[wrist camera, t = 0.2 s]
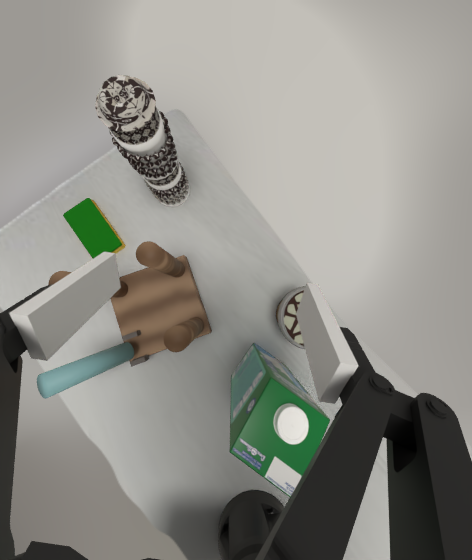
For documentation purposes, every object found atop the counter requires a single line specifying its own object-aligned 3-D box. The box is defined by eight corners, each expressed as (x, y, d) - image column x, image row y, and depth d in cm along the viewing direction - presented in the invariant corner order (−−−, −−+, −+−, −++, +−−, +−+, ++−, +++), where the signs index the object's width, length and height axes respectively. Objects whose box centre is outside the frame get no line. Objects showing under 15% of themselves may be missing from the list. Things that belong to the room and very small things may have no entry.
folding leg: (136, 357, 44) (51, 397, 31) (125, 360, 45) (41, 399, 33) (130, 340, 44) (44, 372, 31) (120, 344, 45) (34, 376, 33)
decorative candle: (159, 167, 54) (96, 52, 29) (196, 178, 53) (164, 71, 29) (148, 202, 53) (72, 114, 28) (184, 212, 53) (141, 133, 28)
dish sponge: (101, 264, 52) (95, 262, 49) (69, 218, 53) (61, 214, 50) (126, 246, 52) (121, 244, 50) (94, 201, 53) (88, 196, 51)
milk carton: (286, 365, 50) (340, 431, 25) (263, 400, 49) (295, 503, 24) (253, 342, 50) (274, 384, 25) (230, 376, 49) (228, 453, 24)
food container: (272, 286, 51) (281, 283, 41) (298, 288, 51) (314, 285, 41) (269, 339, 50) (278, 349, 40) (296, 341, 50) (311, 352, 40)
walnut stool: (212, 333, 50) (200, 354, 31) (137, 361, 49) (75, 400, 30) (186, 257, 52) (159, 232, 32) (113, 283, 51) (39, 272, 31)
